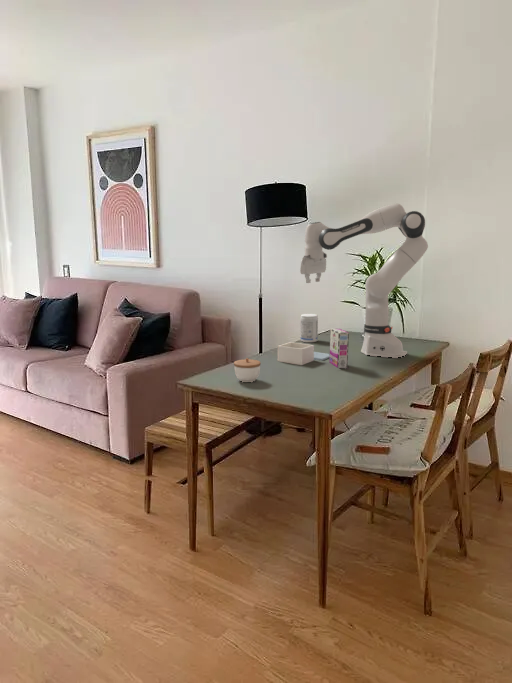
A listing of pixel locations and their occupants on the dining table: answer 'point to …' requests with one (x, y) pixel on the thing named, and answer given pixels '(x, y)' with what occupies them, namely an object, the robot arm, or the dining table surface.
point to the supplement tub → (309, 328)
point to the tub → (295, 353)
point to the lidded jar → (247, 369)
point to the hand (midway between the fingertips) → (313, 282)
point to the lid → (321, 356)
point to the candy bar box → (339, 348)
